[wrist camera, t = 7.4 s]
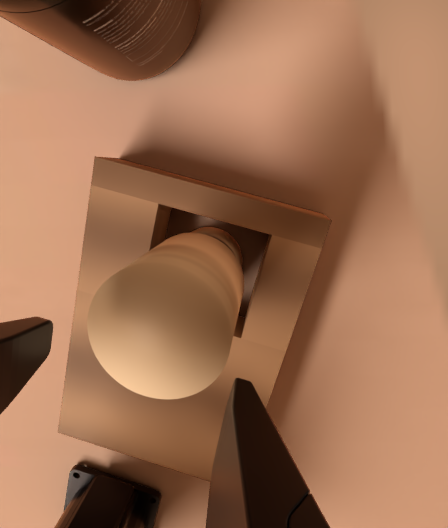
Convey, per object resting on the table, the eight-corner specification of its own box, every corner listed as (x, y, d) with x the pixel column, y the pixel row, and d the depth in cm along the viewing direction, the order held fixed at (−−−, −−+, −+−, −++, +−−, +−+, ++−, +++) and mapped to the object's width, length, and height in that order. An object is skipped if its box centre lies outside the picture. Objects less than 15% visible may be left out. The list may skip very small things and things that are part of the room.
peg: (237, 306, 19) (210, 416, 11) (163, 284, 20) (78, 375, 11) (259, 231, 18) (248, 289, 9) (179, 209, 18) (98, 245, 10)
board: (241, 455, 22) (237, 490, 20) (80, 404, 23) (57, 432, 20) (323, 213, 17) (331, 220, 15) (118, 158, 18) (94, 156, 16)
